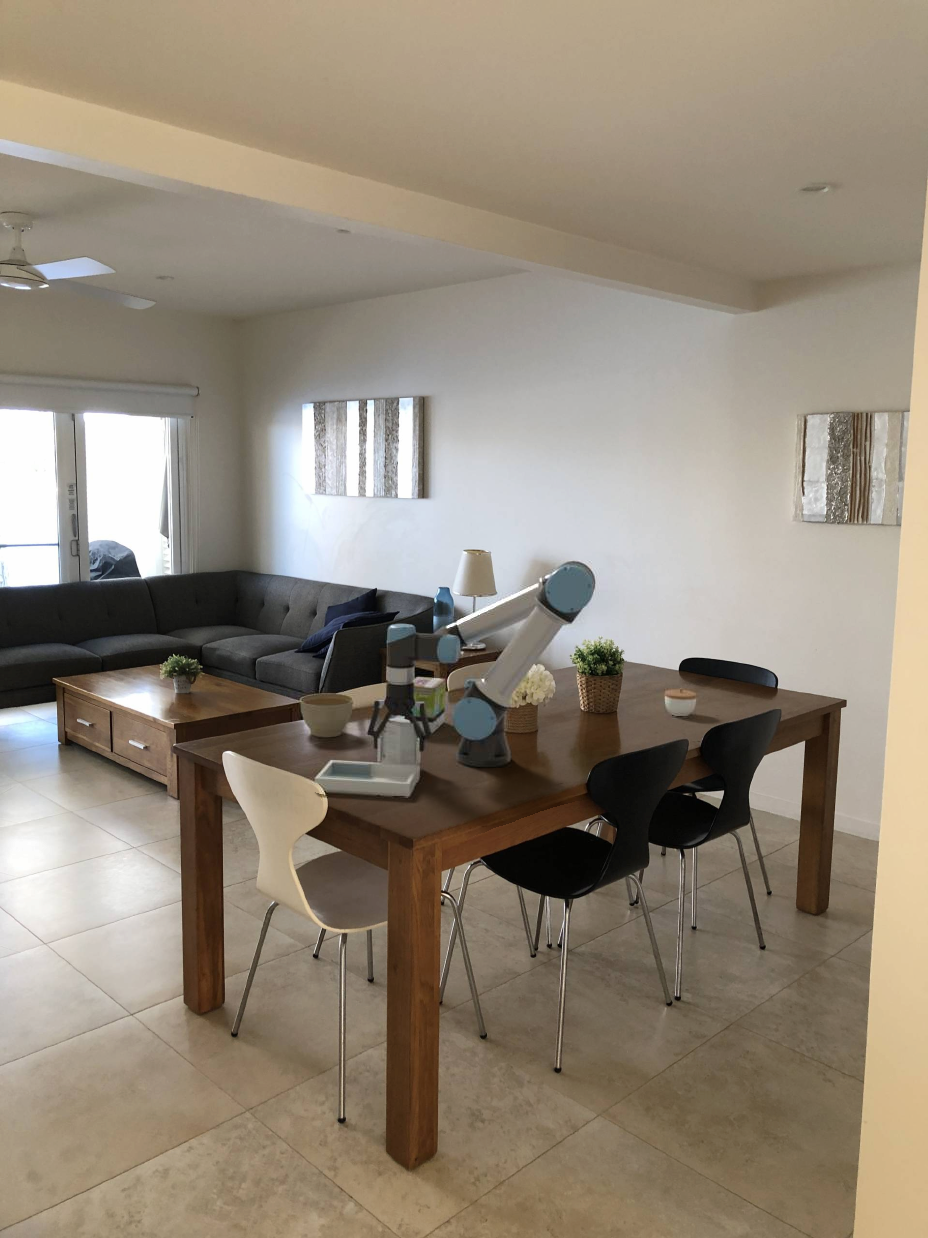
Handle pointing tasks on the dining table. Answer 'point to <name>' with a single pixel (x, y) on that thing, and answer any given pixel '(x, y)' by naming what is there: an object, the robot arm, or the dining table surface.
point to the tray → (368, 778)
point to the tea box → (430, 700)
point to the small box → (398, 742)
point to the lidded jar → (680, 702)
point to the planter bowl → (326, 713)
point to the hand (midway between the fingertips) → (398, 761)
